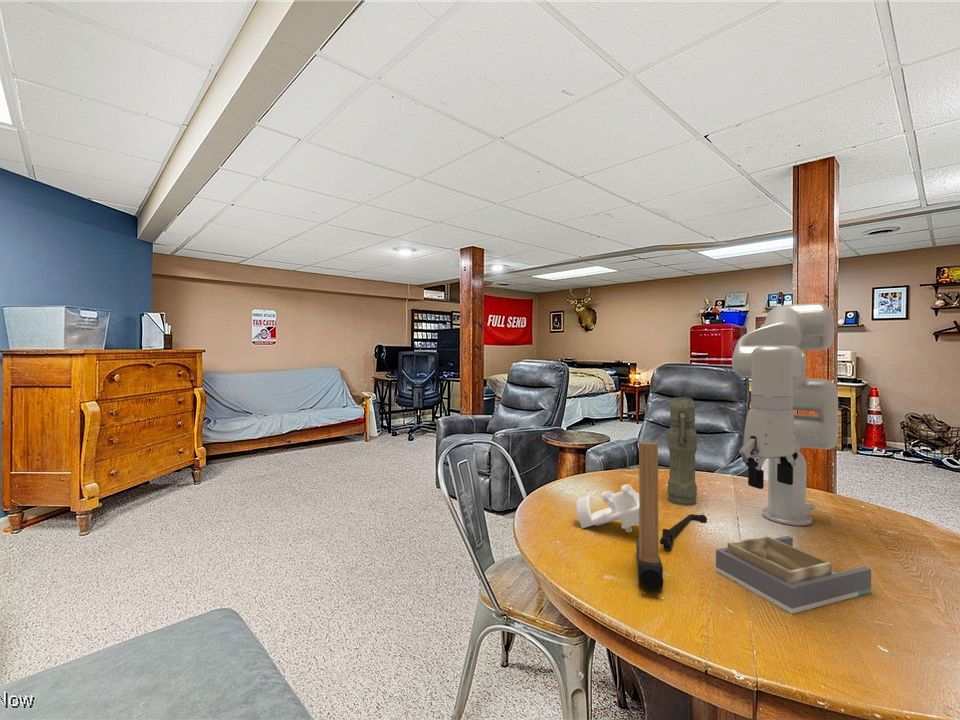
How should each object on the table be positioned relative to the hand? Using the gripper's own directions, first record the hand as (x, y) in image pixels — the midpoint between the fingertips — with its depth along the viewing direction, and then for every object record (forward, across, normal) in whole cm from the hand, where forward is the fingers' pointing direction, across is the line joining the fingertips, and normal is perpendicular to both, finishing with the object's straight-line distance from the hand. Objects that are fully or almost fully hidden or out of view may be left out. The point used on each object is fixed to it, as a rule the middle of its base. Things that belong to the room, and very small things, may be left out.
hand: (770, 484), depth 97 cm
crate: (+21, -2, 0) cm, 21 cm away
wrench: (+23, -3, -27) cm, 36 cm away
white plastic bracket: (+22, +13, -38) cm, 46 cm away
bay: (+22, -6, 0) cm, 23 cm away
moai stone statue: (+22, -23, -50) cm, 59 cm away
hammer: (+22, +21, -13) cm, 33 cm away
